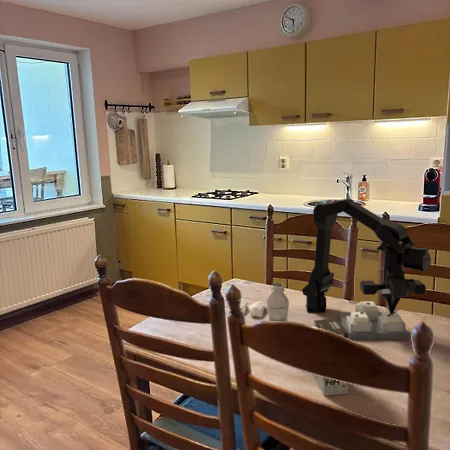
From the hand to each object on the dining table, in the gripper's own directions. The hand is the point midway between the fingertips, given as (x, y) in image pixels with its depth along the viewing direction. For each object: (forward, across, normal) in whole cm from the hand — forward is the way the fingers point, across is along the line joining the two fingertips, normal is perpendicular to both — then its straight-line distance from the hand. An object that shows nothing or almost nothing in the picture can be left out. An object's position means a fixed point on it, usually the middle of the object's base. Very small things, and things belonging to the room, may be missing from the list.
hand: (391, 313), depth 137 cm
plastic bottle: (+7, -36, -10) cm, 38 cm away
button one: (+3, -5, +9) cm, 11 cm away
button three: (+3, 0, 0) cm, 3 cm away
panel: (+7, -5, +4) cm, 9 cm away
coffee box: (+7, -24, -30) cm, 39 cm away
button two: (+3, -10, 0) cm, 10 cm away
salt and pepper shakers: (+7, -44, +19) cm, 49 cm away
